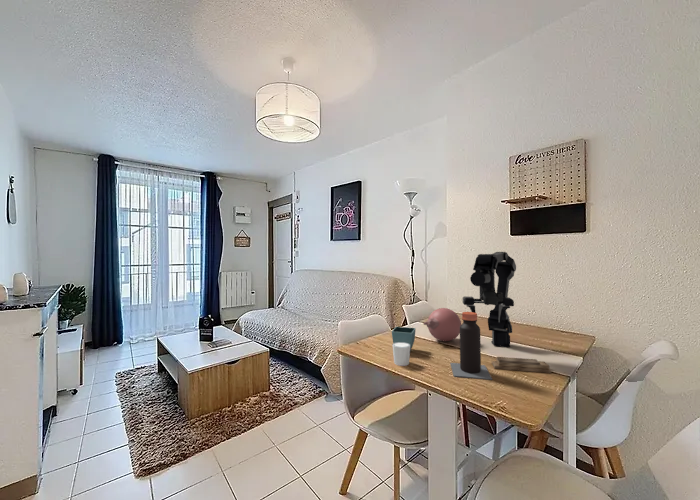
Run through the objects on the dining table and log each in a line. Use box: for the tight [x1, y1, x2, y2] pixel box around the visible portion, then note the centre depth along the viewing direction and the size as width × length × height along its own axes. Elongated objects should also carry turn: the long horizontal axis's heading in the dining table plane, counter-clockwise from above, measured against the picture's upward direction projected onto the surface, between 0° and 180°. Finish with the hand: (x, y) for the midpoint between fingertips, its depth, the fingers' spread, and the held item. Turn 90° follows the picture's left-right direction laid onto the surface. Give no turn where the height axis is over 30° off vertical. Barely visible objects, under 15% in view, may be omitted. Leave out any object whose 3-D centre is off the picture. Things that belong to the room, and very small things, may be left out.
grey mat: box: [450, 362, 493, 381], centre depth 105 cm, size 12×12×1 cm
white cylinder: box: [392, 342, 411, 367], centre depth 114 cm, size 7×7×7 cm
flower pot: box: [391, 326, 416, 351], centre depth 128 cm, size 9×9×9 cm
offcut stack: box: [491, 356, 552, 374], centre depth 108 cm, size 18×5×3 cm, turn 76°
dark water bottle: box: [459, 311, 482, 373], centre depth 105 cm, size 7×7×20 cm
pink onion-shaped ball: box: [422, 307, 462, 342], centre depth 141 cm, size 15×20×15 cm
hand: (487, 322), depth 123 cm, fingers open, 9 cm apart
